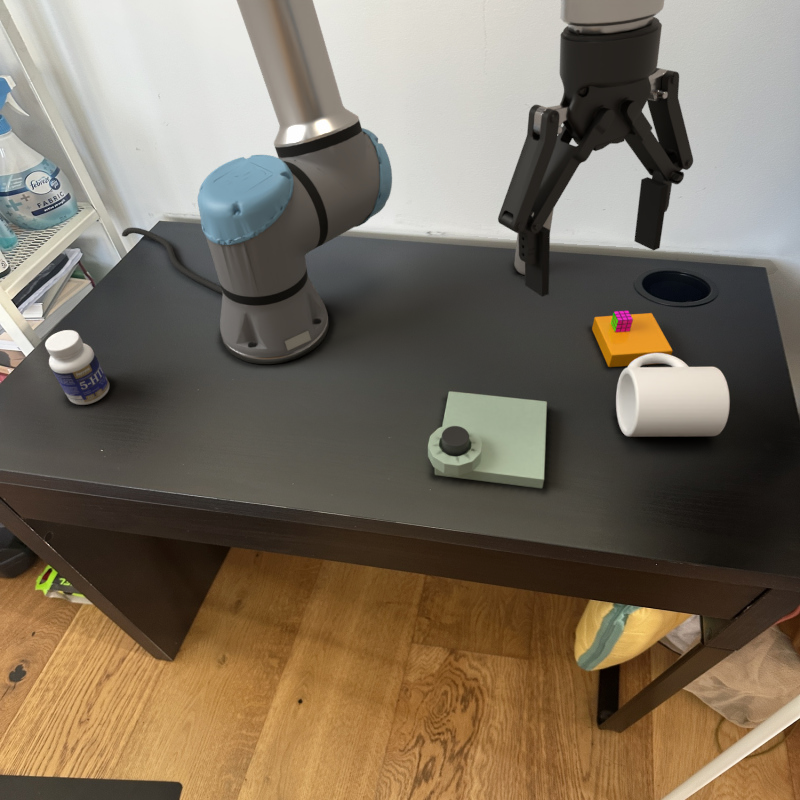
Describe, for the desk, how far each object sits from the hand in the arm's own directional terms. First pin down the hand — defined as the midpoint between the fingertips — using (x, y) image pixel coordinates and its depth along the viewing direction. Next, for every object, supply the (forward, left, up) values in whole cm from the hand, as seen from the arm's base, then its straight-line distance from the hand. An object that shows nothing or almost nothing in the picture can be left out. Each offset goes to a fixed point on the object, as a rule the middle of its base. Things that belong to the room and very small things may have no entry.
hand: (593, 266), depth 62 cm
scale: (-1, -10, -21) cm, 23 cm away
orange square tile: (-5, +16, -21) cm, 27 cm away
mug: (+6, +10, -21) cm, 24 cm away
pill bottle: (-35, -50, -21) cm, 65 cm away
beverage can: (-27, +16, -21) cm, 38 cm away
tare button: (0, -16, -18) cm, 24 cm away
